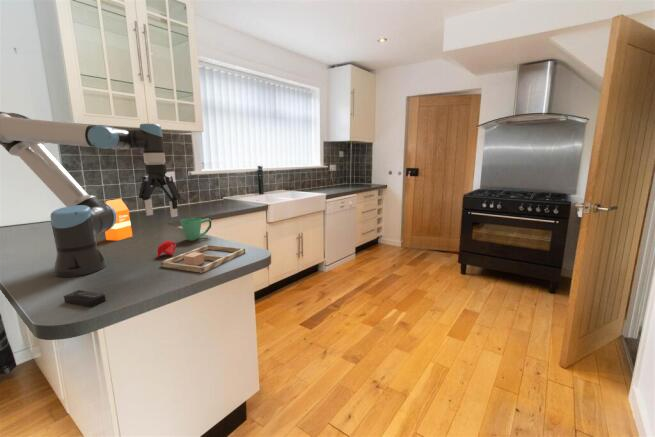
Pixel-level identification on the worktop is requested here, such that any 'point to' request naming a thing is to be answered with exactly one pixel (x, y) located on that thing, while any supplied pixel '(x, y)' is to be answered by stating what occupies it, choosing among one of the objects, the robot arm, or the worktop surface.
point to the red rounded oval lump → (166, 248)
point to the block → (194, 259)
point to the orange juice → (119, 221)
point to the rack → (216, 259)
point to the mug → (193, 227)
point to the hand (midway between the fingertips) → (161, 215)
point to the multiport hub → (84, 298)
